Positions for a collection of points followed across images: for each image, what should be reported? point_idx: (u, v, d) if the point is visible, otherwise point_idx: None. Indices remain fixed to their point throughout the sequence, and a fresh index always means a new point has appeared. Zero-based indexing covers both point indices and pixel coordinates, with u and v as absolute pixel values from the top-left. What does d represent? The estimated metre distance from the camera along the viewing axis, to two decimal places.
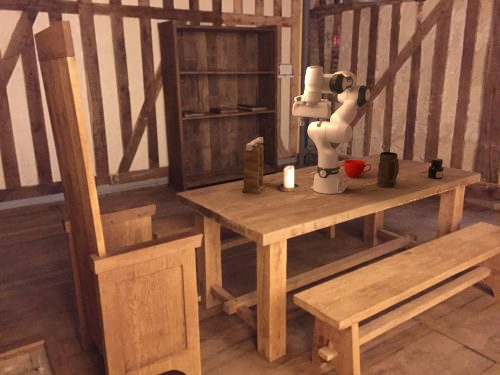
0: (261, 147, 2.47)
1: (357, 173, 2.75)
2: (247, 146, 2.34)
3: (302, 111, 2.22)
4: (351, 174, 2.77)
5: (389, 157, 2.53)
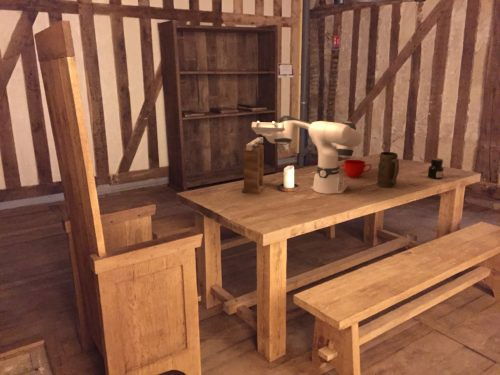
0: (261, 147, 2.47)
1: (357, 173, 2.75)
2: (247, 146, 2.34)
3: None
4: (351, 174, 2.77)
5: (389, 157, 2.53)
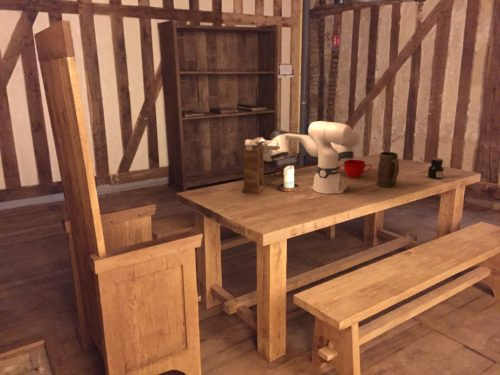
0: (261, 147, 2.47)
1: (357, 173, 2.75)
2: (247, 146, 2.34)
3: None
4: (351, 174, 2.77)
5: (389, 157, 2.53)
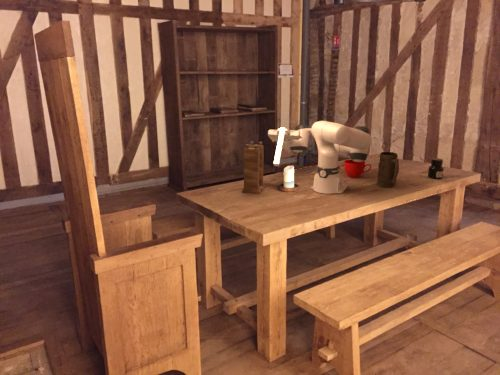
0: (261, 147, 2.47)
1: (357, 173, 2.75)
2: (274, 164, 2.58)
3: None
4: (351, 174, 2.77)
5: (389, 157, 2.53)
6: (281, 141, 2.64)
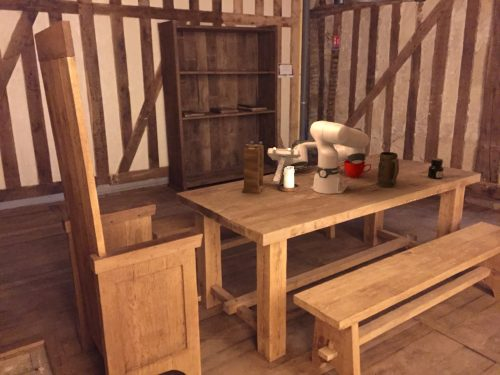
0: (261, 147, 2.47)
1: (357, 173, 2.75)
2: (274, 181, 2.62)
3: None
4: (351, 174, 2.77)
5: (389, 157, 2.53)
6: (282, 164, 2.72)
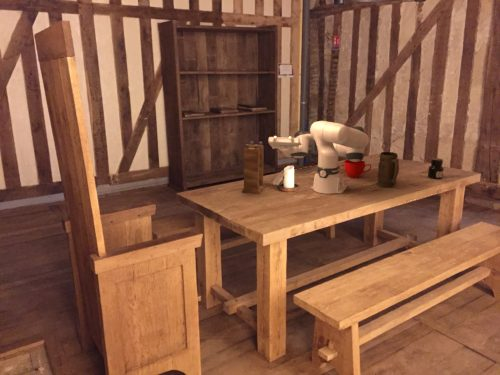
0: (261, 147, 2.47)
1: (357, 173, 2.75)
2: (274, 181, 2.63)
3: None
4: (351, 174, 2.77)
5: (389, 157, 2.53)
6: (282, 174, 2.76)
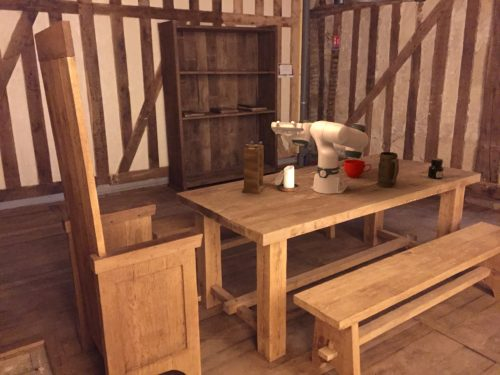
0: (261, 147, 2.47)
1: (357, 173, 2.75)
2: (275, 181, 2.62)
3: None
4: (351, 174, 2.77)
5: (389, 157, 2.53)
6: (282, 174, 2.76)
